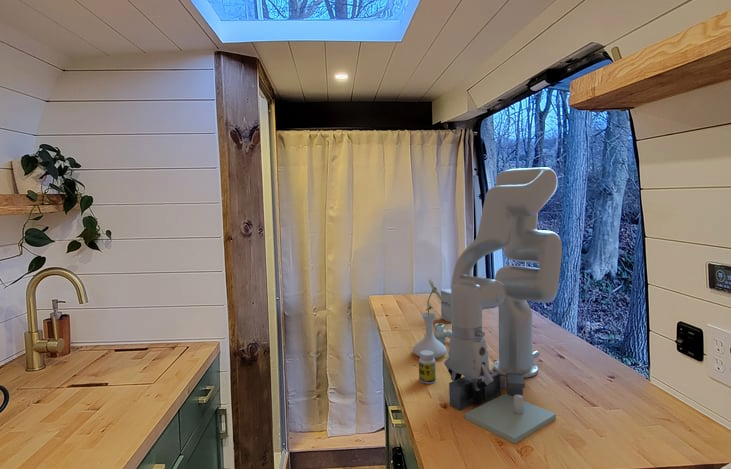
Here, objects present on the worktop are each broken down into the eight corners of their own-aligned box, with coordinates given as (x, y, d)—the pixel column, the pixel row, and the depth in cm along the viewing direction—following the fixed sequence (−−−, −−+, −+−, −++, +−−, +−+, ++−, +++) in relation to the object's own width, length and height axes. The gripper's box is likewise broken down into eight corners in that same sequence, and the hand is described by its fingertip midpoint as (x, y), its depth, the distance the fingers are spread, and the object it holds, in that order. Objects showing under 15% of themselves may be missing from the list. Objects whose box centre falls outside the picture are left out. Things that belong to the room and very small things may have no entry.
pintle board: (512, 391, 119) (512, 369, 119) (565, 413, 107) (565, 388, 107) (461, 416, 107) (461, 392, 107) (514, 443, 95) (514, 416, 95)
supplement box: (440, 319, 187) (440, 289, 186) (455, 316, 190) (454, 287, 189) (451, 323, 180) (450, 293, 179) (465, 320, 183) (465, 290, 182)
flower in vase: (443, 363, 140) (441, 286, 138) (408, 359, 144) (406, 284, 142) (451, 349, 152) (449, 277, 150) (418, 345, 156) (416, 276, 154)
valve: (434, 345, 156) (469, 345, 155) (434, 327, 156) (468, 327, 154) (433, 339, 163) (467, 339, 161) (433, 321, 162) (466, 321, 161)
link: (491, 382, 125) (490, 362, 125) (510, 390, 120) (510, 369, 120) (445, 403, 114) (445, 380, 114) (464, 412, 109) (464, 389, 109)
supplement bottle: (416, 381, 128) (415, 353, 127) (424, 375, 132) (423, 348, 131) (430, 385, 125) (429, 356, 124) (438, 379, 129) (438, 351, 128)
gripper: (504, 336, 108) (505, 406, 110) (451, 321, 122) (453, 383, 124) (484, 343, 104) (485, 417, 106) (432, 327, 118) (433, 392, 119)
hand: (467, 398), depth 115 cm, fingers open, 5 cm apart
